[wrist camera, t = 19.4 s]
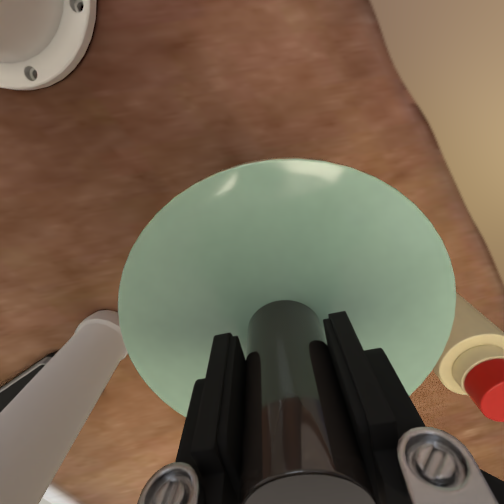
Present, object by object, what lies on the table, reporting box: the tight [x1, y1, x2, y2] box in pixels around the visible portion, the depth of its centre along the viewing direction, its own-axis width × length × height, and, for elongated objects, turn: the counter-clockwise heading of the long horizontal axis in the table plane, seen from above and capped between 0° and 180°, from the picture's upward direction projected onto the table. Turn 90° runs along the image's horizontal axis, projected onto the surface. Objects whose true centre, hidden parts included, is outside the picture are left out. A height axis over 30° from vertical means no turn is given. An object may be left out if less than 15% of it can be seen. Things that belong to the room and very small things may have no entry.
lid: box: [118, 157, 456, 504], centre depth 9 cm, size 13×13×7 cm
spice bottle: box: [433, 292, 504, 422], centre depth 22 cm, size 5×5×12 cm
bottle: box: [0, 310, 128, 504], centre depth 19 cm, size 5×5×25 cm
